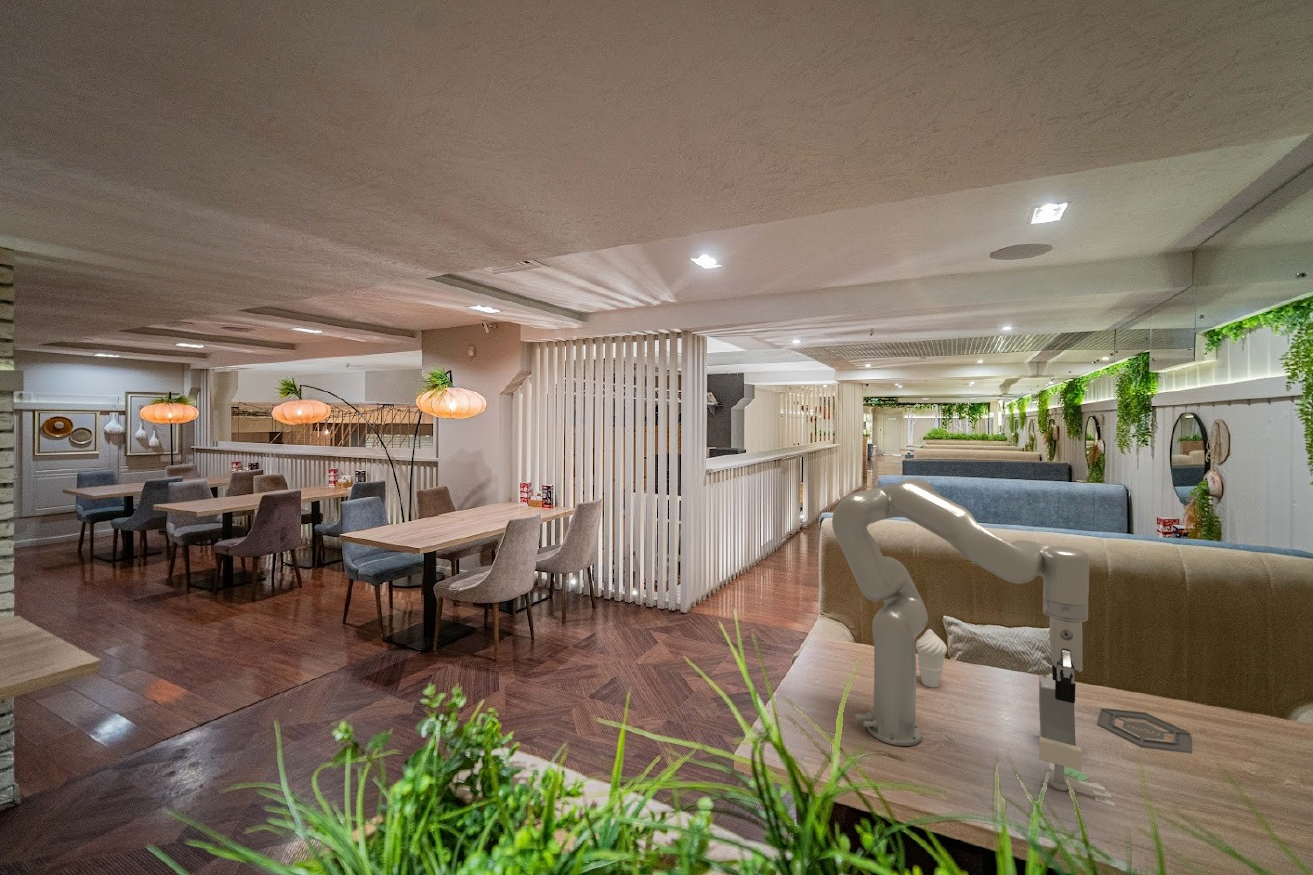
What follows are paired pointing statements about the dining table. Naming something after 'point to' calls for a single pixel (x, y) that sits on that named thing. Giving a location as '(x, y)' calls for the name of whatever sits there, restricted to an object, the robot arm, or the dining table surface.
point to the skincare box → (1055, 714)
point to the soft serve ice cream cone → (930, 658)
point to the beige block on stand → (1063, 763)
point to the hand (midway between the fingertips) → (1063, 690)
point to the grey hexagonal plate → (1180, 736)
